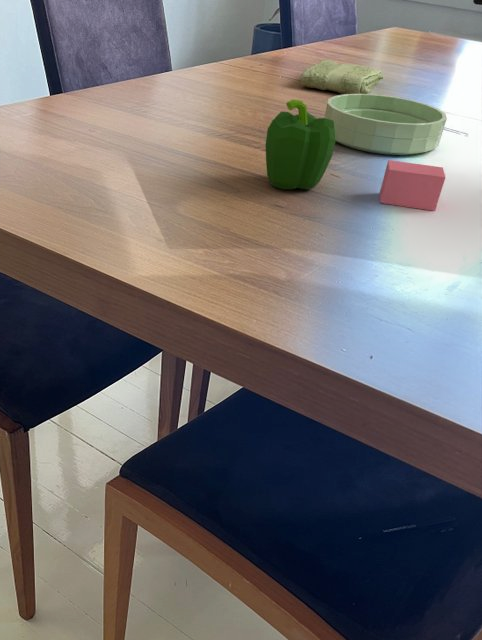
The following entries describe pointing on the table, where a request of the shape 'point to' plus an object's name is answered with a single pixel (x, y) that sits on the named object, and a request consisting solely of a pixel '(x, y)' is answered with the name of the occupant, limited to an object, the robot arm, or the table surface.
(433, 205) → the eraser
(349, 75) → the washcloth
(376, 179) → the table surface
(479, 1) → the robot arm
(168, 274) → the table surface
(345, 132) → the bowl
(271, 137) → the bell pepper
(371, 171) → the table surface
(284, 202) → the table surface
